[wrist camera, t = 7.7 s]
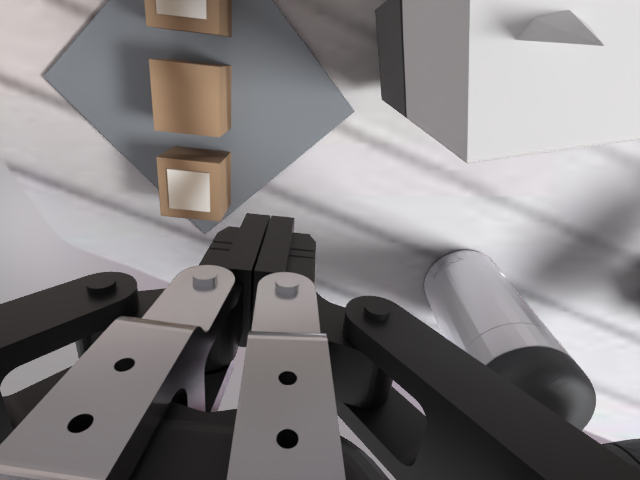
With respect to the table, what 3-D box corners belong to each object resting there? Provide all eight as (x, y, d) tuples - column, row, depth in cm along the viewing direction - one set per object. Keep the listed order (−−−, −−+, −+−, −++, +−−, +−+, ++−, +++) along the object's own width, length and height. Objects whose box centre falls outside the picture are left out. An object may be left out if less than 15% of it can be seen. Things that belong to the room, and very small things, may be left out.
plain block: (231, 65, 38) (219, 67, 34) (231, 128, 41) (219, 137, 36) (169, 58, 38) (148, 59, 33) (173, 121, 40) (154, 130, 36)
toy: (377, 96, 40) (497, 185, 13) (371, 13, 37) (512, -104, 10) (526, 73, 39) (1001, 117, 12) (533, -14, 36) (1205, -231, 9)
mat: (354, 110, 40) (354, 111, 40) (206, 232, 46) (204, 234, 46) (198, -100, 33) (196, -103, 33) (47, 76, 39) (43, 77, 39)
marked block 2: (231, 151, 42) (219, 164, 37) (230, 204, 44) (219, 222, 40) (174, 146, 41) (155, 157, 37) (177, 199, 44) (160, 216, 39)
